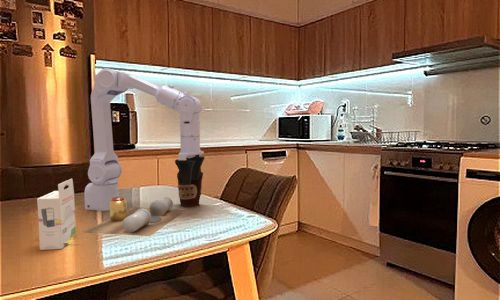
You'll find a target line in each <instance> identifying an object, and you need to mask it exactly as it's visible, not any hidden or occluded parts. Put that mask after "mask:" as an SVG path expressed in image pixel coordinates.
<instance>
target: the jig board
mask: <svg viewBox="0 0 500 300" xmlns="http://www.w3.org/2000/svg"><path fill="white" fill-rule="evenodd" d="M141 208H142V207H137V206H136V207H133V206H132V207H130V208H129V209H128V208H127V217H128V216H130V215H132V214H134V213H135V211H137V210H138V209H141ZM143 208H144V209H147V210H148V211H149V212H150V210H149V207H143ZM185 212H187V209H182V208H181V209H180V208H171V209H170V210H168V211H166V212H165V214H164V215H163V216H153V215H152V214H151V213H150V214H151V217H160V218H162V220H161V221H159V222H155V223H149V224H148V225H147V226H142V227H141V228H139V229H138V230H136V231H134V232H132V233H129V232H127V231H125V230H124V228H123V225H122V223H123V221H120V222H113V221H110V218H108V219H106V220H104V221H101V222H100V223H97V224H96V225H94V226H92V227H89V228H88V229H86V230H83V231H82V233H89V234H91V233H92V234H107V235H108V234H110V235H127V236H143V237H151V236H153V235H154V234H155V233H157V232H158V231H159V230H161V229H162V228H164V227H165V226H166V225H168V224H169V223H171V222H172V221H174V220H175V219H177V218H178V217H180V216H181V215H182V214H183V213H185Z"/></svg>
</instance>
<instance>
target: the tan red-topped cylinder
mask: <svg viewBox="0 0 500 300" xmlns="http://www.w3.org/2000/svg"><path fill="white" fill-rule="evenodd" d="M127 206H128V205H127V199H126V198H125V197H124V196H118V197H114V198H112V200H110V210H109V219H110V221H113V222H120V221H123V220H124V219H125V218H126V217H127V210H128V207H127Z"/></svg>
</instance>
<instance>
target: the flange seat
mask: <svg viewBox="0 0 500 300" xmlns="http://www.w3.org/2000/svg"><path fill="white" fill-rule="evenodd" d="M161 220H162V218H160V217H151V222H150V223H155V222H159V221H161Z"/></svg>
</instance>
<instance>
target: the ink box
mask: <svg viewBox="0 0 500 300" xmlns="http://www.w3.org/2000/svg"><path fill="white" fill-rule="evenodd" d="M66 186H68V187H67V188H65V187H66ZM36 201H37V202H36V205H37V216H38V217H37V219H38V234H39V235H38V236H39V237H38V238H39V250H41V251H42V250H43V251H45V250H50V251H51V250H62V249H64V248H65V247H66V246H68V245H69V243H67V241H69V240H70V239H71V238H72V237H74V236H75V235H76V234H77V228H76V227H77V226H76V208H75V207H76V205H75V190H74V181H73V178H70V179H68V180H67V179H66V180H65V181H62V182H61V183H58V184H57V190H53V191H52V192H49V193H47V194H44V195H43V196H42V195H41V196H40V197H38V198H37V199H36Z"/></svg>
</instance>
